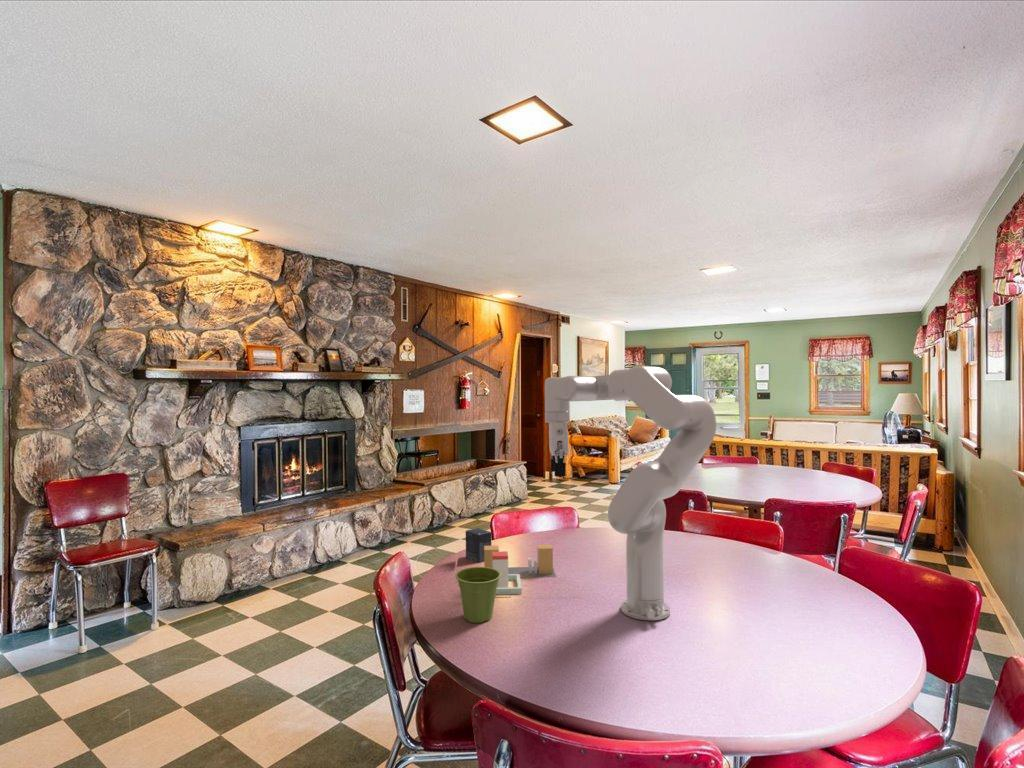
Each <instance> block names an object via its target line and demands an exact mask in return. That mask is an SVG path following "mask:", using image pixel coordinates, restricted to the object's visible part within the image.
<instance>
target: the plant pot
mask: <svg viewBox="0 0 1024 768" xmlns="http://www.w3.org/2000/svg"><path fill="white" fill-rule="evenodd" d="M500 577H501V573H500V572H499V571H498V570H496V569H493V568H489V567H484V566H472V567H466V568H462V569H459V570H458V571H457V572H456V573H455V579H457V583H458V588H459V591H460V598H461V603H462V605H461V606H462V611H463V618H464V619H465V620H467V621H468V622H470V623H475V624H480V623H484V622H485V621H488V622H489V621H490V620H491V619H492V617H493V612H494V606H495V600H496V598H495V597H496V595H497V594H496V589H497V586H498V581H499V578H500Z"/></svg>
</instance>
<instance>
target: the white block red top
mask: <svg viewBox="0 0 1024 768" xmlns="http://www.w3.org/2000/svg"><path fill="white" fill-rule="evenodd" d="M492 565H493V569H496V570H498V571H499V572H500V573H501V577H500V578H499V581H498V586H497V588H504V587H509V580H508V567H509V553H508V551H507V550H506V551H504V550H503V551H499V552H492Z"/></svg>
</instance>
